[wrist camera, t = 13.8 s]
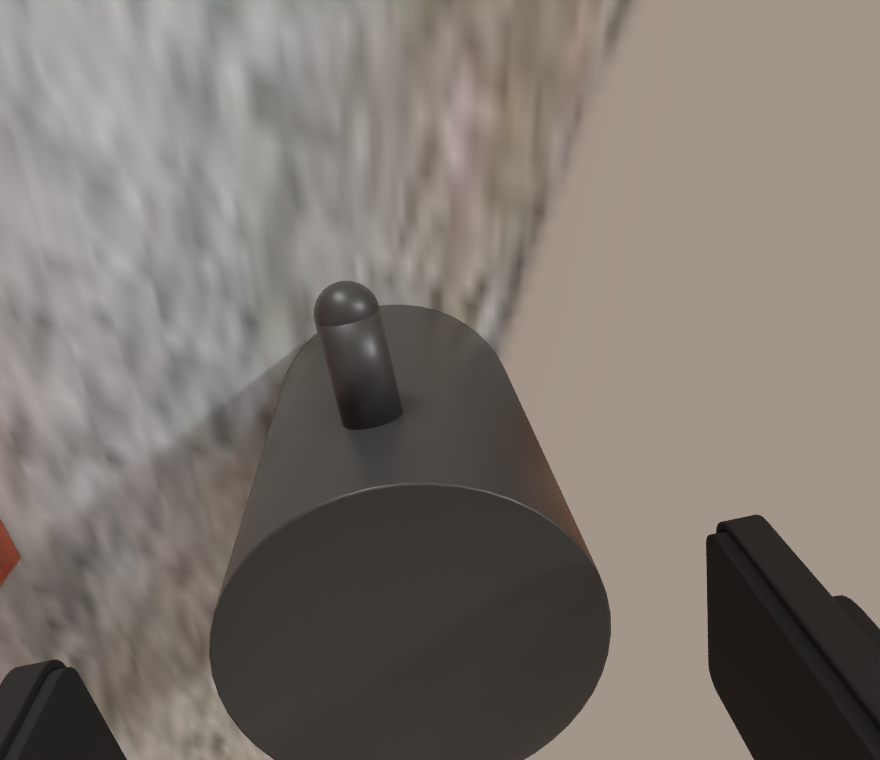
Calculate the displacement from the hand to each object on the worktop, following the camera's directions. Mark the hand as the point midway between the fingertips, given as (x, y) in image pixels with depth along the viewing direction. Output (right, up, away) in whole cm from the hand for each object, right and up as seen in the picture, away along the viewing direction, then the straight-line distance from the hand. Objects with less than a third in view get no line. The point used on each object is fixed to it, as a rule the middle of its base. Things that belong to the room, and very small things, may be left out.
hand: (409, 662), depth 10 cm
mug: (-1, +4, +9) cm, 10 cm away
